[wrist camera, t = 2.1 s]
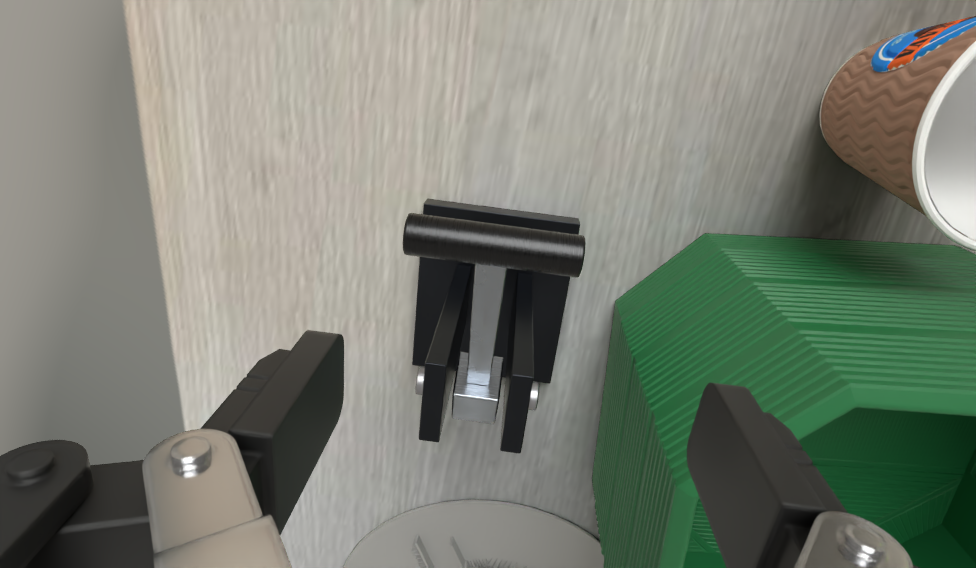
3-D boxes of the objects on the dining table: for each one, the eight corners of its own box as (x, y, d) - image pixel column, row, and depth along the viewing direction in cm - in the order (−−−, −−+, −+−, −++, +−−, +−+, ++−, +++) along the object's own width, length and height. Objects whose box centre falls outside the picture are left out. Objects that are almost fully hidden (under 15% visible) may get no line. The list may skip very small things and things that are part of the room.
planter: (622, 226, 36) (702, 379, 20) (1040, 246, 35) (1503, 428, 18) (584, 524, 47) (614, 791, 30) (905, 549, 45) (1125, 842, 29)
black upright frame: (427, 198, 37) (373, 279, 24) (578, 218, 36) (605, 309, 24) (415, 355, 41) (365, 492, 29) (549, 374, 41) (558, 519, 28)
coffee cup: (991, -14, 30) (1261, -50, 19) (965, 174, 34) (1177, 236, 23) (789, 25, 31) (930, 14, 20) (786, 202, 35) (904, 274, 24)
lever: (412, 193, 19) (398, 246, 18) (586, 216, 19) (585, 271, 18) (423, 372, 30) (414, 413, 28) (534, 387, 30) (531, 429, 28)
